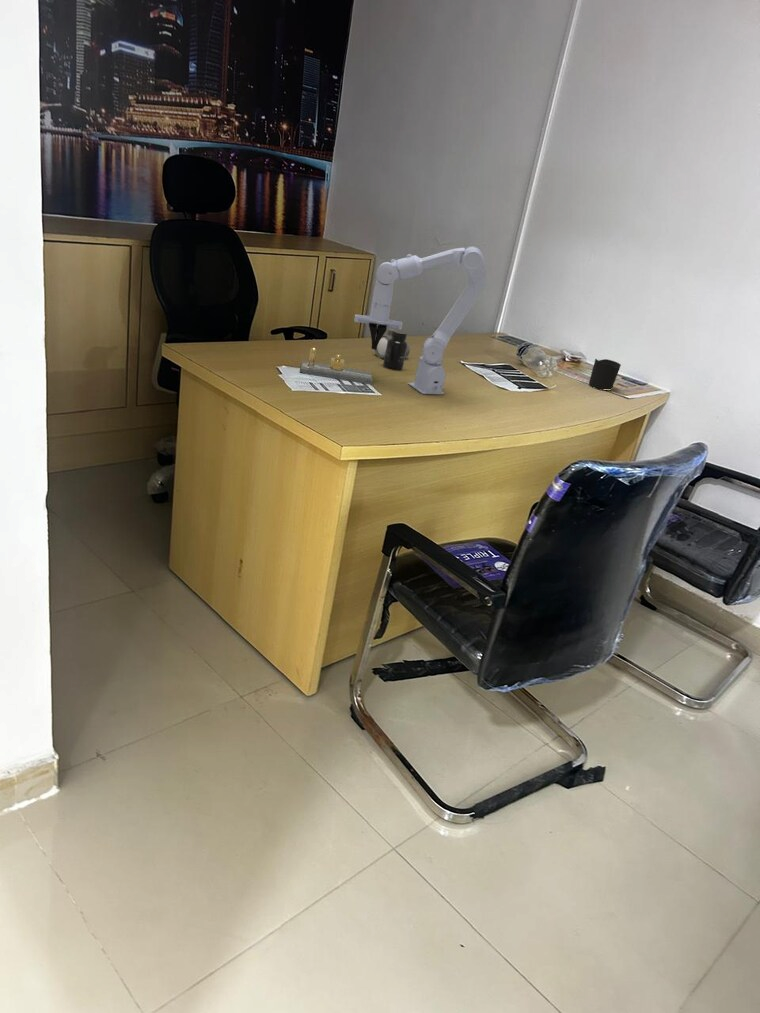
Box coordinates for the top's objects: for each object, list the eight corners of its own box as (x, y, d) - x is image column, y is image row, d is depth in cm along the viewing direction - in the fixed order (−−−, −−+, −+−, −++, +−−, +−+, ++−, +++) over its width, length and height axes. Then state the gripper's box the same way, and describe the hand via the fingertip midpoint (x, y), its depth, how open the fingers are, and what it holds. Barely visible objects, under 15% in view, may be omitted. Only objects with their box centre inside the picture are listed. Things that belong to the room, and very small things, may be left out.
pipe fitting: (385, 360, 249) (392, 330, 246) (371, 355, 254) (377, 325, 251) (411, 363, 257) (417, 334, 254) (396, 358, 262) (403, 330, 259)
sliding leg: (342, 368, 225) (344, 354, 223) (342, 373, 219) (344, 359, 217) (329, 366, 224) (332, 352, 222) (329, 371, 219) (331, 357, 217)
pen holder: (613, 393, 268) (622, 367, 264) (588, 387, 269) (596, 361, 265) (611, 387, 277) (619, 362, 273) (586, 381, 278) (594, 356, 274)
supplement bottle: (402, 371, 241) (409, 336, 236) (382, 368, 240) (389, 332, 235) (402, 366, 247) (409, 331, 242) (383, 363, 247) (389, 328, 242)
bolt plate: (370, 375, 229) (374, 354, 226) (371, 384, 220) (376, 362, 217) (301, 364, 227) (304, 342, 224) (300, 372, 218) (303, 349, 215)
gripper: (357, 302, 212) (350, 348, 218) (406, 310, 214) (397, 355, 220) (357, 298, 219) (350, 342, 224) (404, 306, 221) (396, 349, 226)
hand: (373, 348), depth 223 cm, fingers closed
